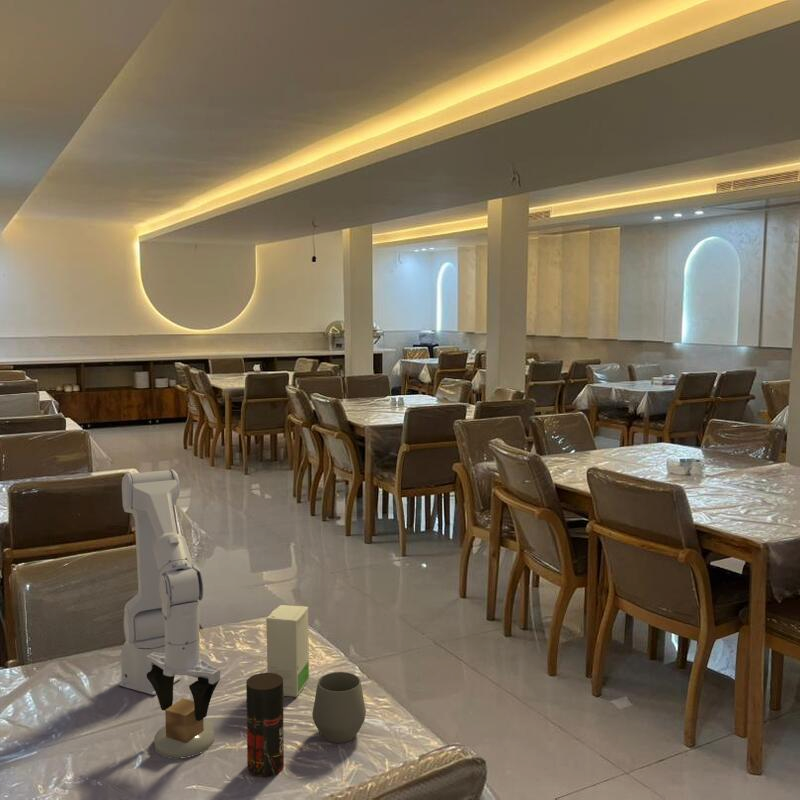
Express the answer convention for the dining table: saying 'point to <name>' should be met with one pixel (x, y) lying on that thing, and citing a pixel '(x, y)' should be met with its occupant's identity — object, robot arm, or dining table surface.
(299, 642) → the skincare box
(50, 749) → the dining table surface
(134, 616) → the robot arm
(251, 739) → the deodorant
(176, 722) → the walnut block
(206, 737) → the khaki round plate
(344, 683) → the cup
